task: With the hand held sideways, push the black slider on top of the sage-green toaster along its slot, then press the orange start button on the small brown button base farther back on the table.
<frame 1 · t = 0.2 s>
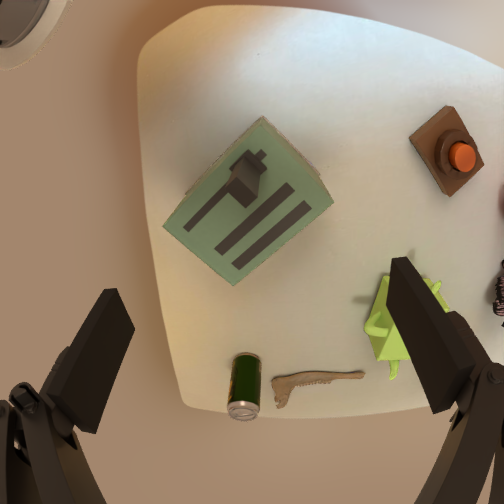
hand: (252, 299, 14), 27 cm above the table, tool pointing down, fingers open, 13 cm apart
slider: (245, 178, 23), point 15 cm above the table, slide at 0.0 cm
start button: (462, 156, 30), point 4 cm above the table, slide at 0.1 cm
jawbone: (316, 386, 58), on the table
toaster: (251, 182, 39), on the table
green soda can: (247, 360, 55), on the table
brown button base: (445, 149, 34), on the table
teapot: (395, 298, 47), on the table
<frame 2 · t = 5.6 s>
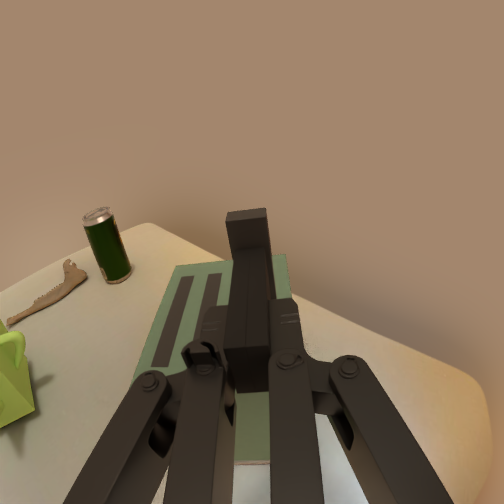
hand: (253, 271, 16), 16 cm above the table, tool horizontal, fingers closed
slider: (256, 278, 17), point 15 cm above the table, slide at 1.4 cm, touching gripper
jawbone: (45, 295, 47), on the table
toaster: (245, 397, 26), on the table
green soda can: (119, 276, 50), on the table
teapot: (12, 400, 26), on the table
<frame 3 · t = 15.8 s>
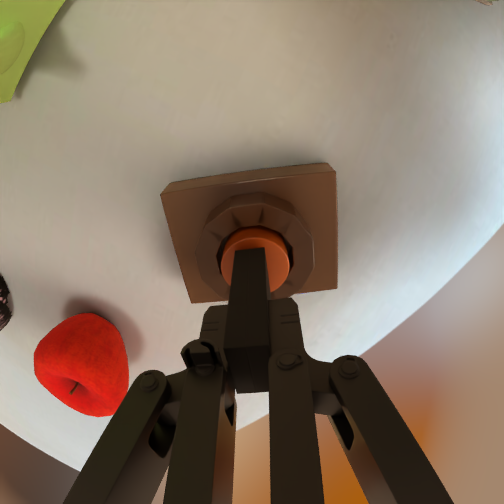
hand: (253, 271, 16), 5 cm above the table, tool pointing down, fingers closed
apple: (102, 330, 26), on the table
start button: (255, 259, 17), point 4 cm above the table, slide at -0.5 cm, touching gripper
brown button base: (255, 229, 20), on the table
teapot: (13, 26, 12), on the table
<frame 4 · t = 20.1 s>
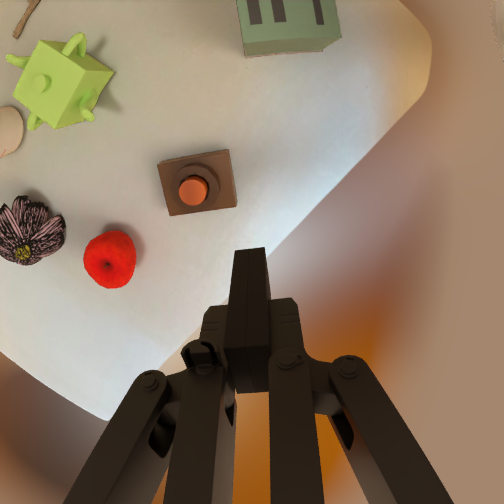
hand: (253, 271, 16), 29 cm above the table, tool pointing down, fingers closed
apple: (122, 243, 49), on the table
start button: (193, 190, 39), point 4 cm above the table, slide at 0.1 cm
mug: (7, 133, 38), on the table
decorative flower: (39, 222, 47), on the table
toaster: (276, 8, 31), on the table
brown button base: (199, 181, 43), on the table
teapot: (80, 80, 35), on the table
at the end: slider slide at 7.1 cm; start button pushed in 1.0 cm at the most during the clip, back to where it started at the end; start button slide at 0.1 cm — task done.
